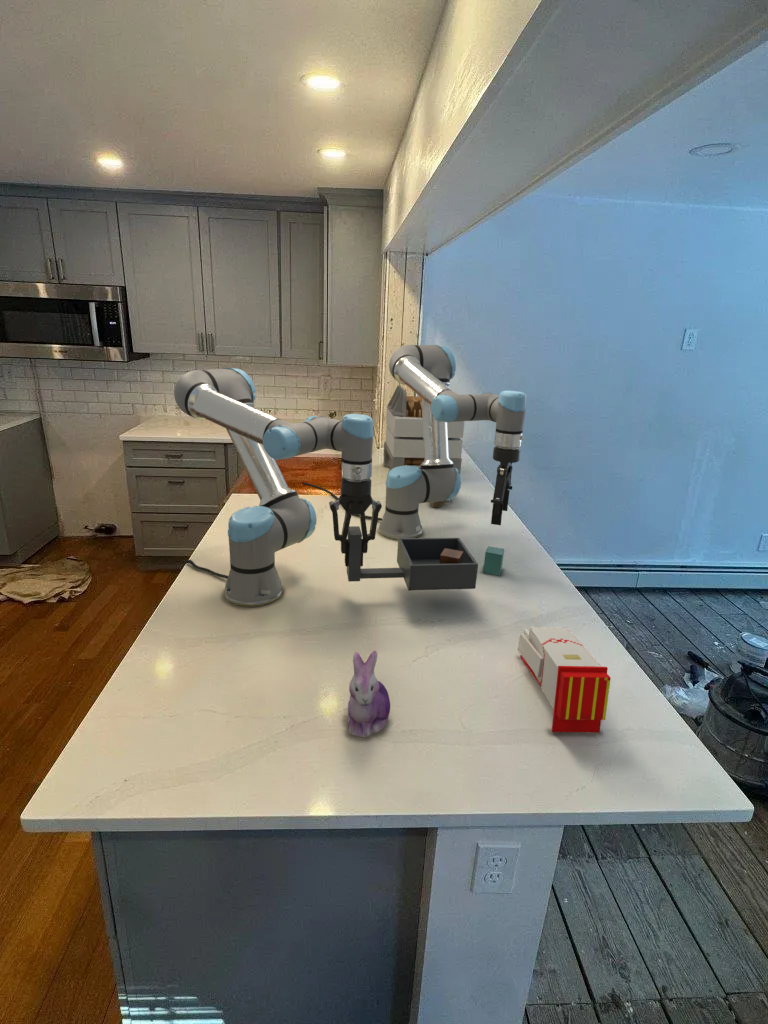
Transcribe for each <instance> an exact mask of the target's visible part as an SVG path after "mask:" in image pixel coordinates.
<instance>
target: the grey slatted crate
mask: <svg viewBox="0 0 768 1024" xmlns="http://www.w3.org/2000/svg"><path fill="white" fill-rule="evenodd" d="M407 394H408V393H407V390H406V389H404V388H403V387H402V385H399V384H398V385H397V386H396V388H395V390H394V392H393V394H392V395H391V398H390V400H389V402H388V404H387V405H386V413H385V414H386V415H385V423H386V428H385V438H384V442H383V466H384V467H388V468H389V471H390V470H391V469H393V468H395V467H399V466H417V467H421V463H422V462H423V461H424V439H423V419H422V399H421V397H420V396H419V395H417V396H415V395H414V396H413V395H412V396H411V395H407ZM447 429H448V451H449V459H450V460H451V461H452V462H453V466H454V468H456V469H458V471H459V474H460V475H461V472H462V461H463V460H462V453H463V442H464V441H463V440H462V439H463V438H464V431H465V430H464V429H465V421H457V422H447Z"/></svg>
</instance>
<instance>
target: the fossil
mask: <svg viewBox="0 0 768 1024" xmlns="http://www.w3.org/2000/svg"><path fill="white" fill-rule="evenodd" d="M452 501H453V499H451V500H446V501H443V502H442V501H438V502H428V504H429V505H430V507H431V508H435V509H436V508H437V509H438V508H441V507H443V506H445V505H447V503H449V502H452Z"/></svg>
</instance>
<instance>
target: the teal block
mask: <svg viewBox="0 0 768 1024" xmlns="http://www.w3.org/2000/svg"><path fill="white" fill-rule="evenodd" d="M504 555H505V548H501V547H498V546H497V547H495V546H491V545H488V546H487V548H486V549H485V552H484V560H483V568H482V569H483V570H482V573H483V574H487V575H492V576H498V577H500V575H501V573H502V570H503V563H504Z"/></svg>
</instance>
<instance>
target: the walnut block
mask: <svg viewBox="0 0 768 1024" xmlns="http://www.w3.org/2000/svg"><path fill="white" fill-rule="evenodd" d="M462 558H463V551H458V550H453V549H447V548H445V549H444V550H443V552H442V553H441V555H440V563H439V564H455V563H462Z"/></svg>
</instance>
